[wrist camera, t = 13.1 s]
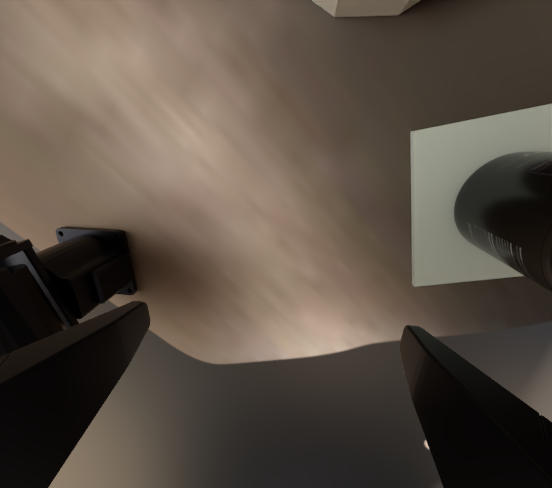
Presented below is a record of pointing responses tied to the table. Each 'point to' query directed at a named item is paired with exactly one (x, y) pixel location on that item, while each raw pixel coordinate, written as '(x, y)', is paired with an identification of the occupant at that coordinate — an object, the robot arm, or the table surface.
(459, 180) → the mat
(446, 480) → the robot arm
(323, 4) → the ring holder
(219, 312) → the table surface
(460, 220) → the supplement bottle
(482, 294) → the table surface
